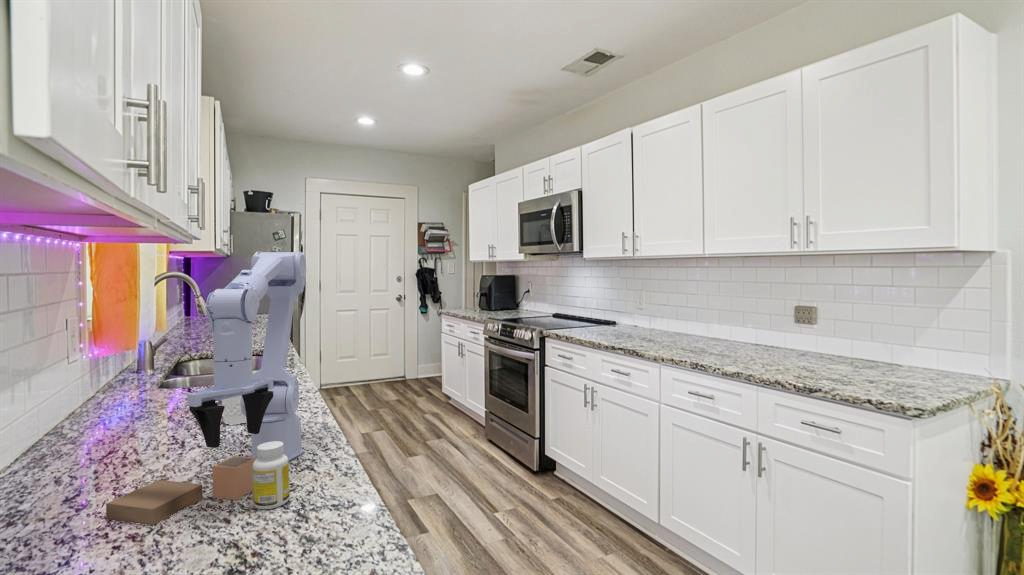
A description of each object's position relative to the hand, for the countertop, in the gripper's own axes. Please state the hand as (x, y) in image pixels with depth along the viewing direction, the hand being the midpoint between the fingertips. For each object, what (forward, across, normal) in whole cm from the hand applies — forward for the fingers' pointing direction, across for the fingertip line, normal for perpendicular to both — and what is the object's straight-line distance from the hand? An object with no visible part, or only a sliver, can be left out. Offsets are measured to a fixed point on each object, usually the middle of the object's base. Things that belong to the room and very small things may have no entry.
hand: (234, 439), depth 83 cm
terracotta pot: (+10, +2, +3) cm, 11 cm away
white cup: (+9, +32, +39) cm, 51 cm away
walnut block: (+11, -7, +10) cm, 16 cm away
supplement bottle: (+11, +2, -6) cm, 13 cm away
